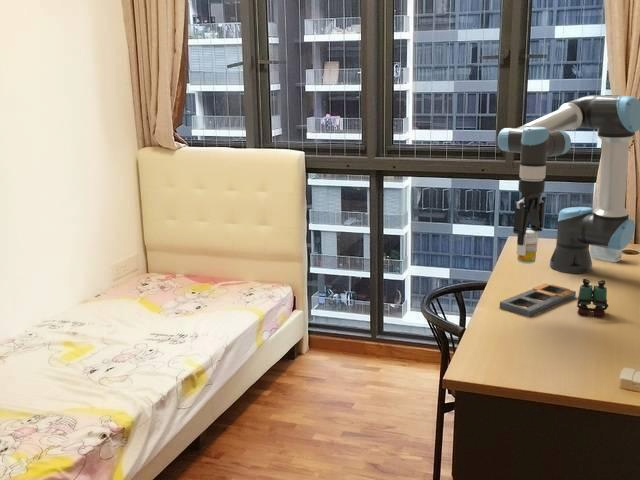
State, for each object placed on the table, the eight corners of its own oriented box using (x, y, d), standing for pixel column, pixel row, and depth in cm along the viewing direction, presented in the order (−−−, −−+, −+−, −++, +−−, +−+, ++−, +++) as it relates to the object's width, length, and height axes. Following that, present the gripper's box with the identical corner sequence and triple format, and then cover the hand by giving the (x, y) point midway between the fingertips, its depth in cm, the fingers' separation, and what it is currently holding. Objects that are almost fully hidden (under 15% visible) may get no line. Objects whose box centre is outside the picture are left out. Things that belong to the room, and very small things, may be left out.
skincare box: (588, 257, 268) (591, 232, 265) (596, 254, 272) (598, 229, 270) (614, 263, 261) (617, 237, 258) (621, 259, 265) (624, 234, 262)
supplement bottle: (514, 259, 212) (516, 229, 209) (531, 258, 212) (533, 228, 210) (520, 264, 207) (523, 233, 204) (537, 263, 207) (540, 233, 204)
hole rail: (545, 289, 231) (546, 282, 231) (575, 297, 223) (576, 290, 223) (499, 307, 214) (499, 300, 214) (529, 317, 206) (530, 310, 206)
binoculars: (579, 288, 202) (578, 275, 211) (576, 320, 206) (575, 306, 215) (611, 291, 199) (609, 278, 208) (607, 323, 203) (606, 309, 212)
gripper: (537, 174, 211) (532, 245, 217) (503, 181, 200) (499, 256, 206) (559, 176, 206) (553, 249, 212) (525, 184, 194) (520, 261, 200)
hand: (526, 252), depth 209 cm, fingers closed on supplement bottle, 5 cm apart
